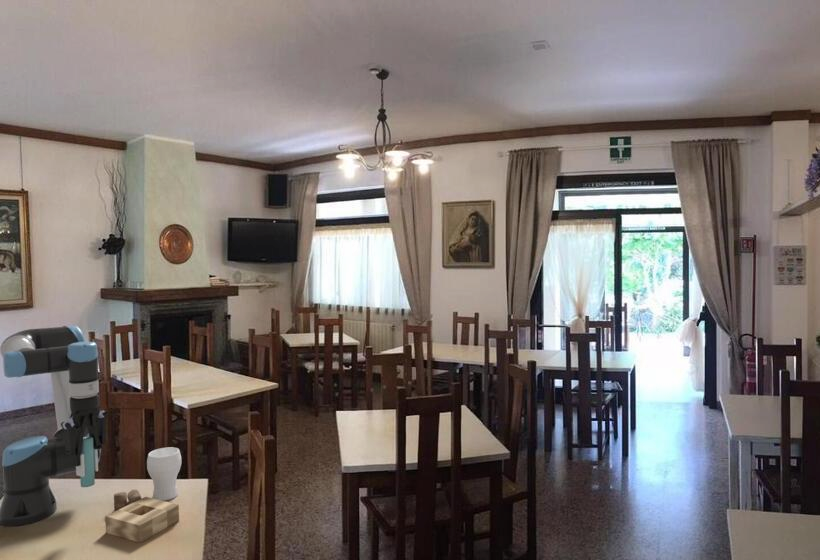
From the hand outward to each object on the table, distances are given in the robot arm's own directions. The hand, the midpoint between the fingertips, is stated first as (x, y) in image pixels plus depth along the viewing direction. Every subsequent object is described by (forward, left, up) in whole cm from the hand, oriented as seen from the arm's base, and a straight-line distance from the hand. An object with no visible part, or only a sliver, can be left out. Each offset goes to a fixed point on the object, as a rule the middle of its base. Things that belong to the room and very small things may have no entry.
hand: (87, 472), depth 166 cm
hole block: (+14, +7, -17) cm, 23 cm away
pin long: (0, 0, -4) cm, 4 cm away
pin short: (-2, +12, -17) cm, 21 cm away
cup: (+3, +25, -17) cm, 30 cm away
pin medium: (+3, +14, -15) cm, 21 cm away
